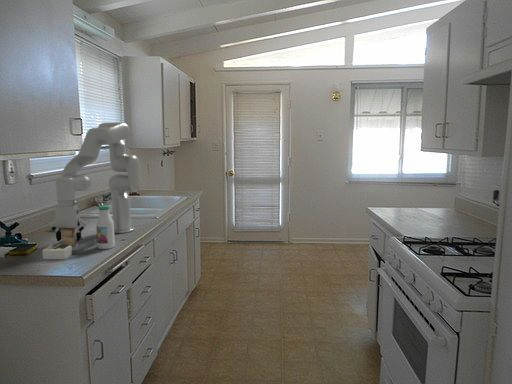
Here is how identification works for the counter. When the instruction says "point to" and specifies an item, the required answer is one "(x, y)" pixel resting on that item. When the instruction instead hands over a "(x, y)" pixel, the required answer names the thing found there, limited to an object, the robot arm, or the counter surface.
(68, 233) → the slider
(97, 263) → the counter surface
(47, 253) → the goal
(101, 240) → the milk bottle
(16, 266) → the counter surface
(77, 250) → the deck
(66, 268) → the counter surface
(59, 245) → the rails
